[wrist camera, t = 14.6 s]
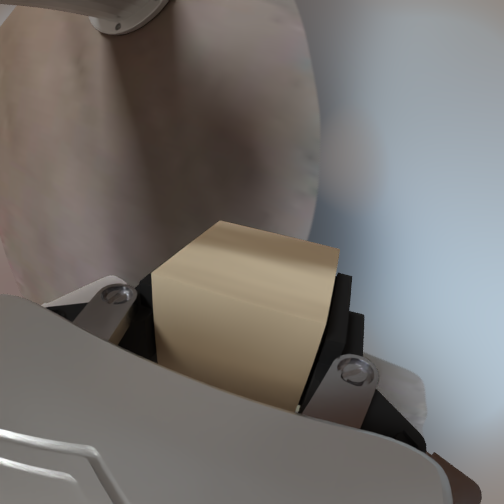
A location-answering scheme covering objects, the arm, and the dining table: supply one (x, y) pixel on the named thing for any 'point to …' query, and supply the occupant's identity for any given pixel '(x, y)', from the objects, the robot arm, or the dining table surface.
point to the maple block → (244, 311)
